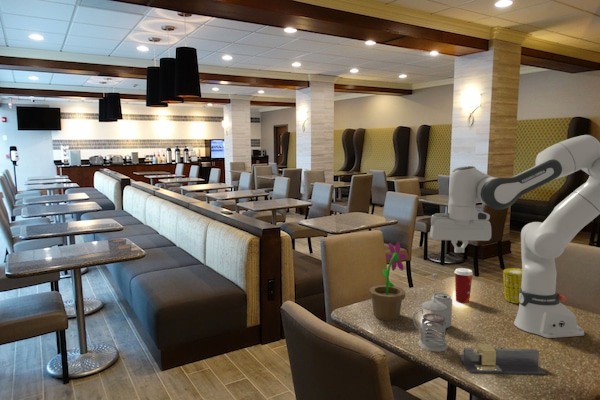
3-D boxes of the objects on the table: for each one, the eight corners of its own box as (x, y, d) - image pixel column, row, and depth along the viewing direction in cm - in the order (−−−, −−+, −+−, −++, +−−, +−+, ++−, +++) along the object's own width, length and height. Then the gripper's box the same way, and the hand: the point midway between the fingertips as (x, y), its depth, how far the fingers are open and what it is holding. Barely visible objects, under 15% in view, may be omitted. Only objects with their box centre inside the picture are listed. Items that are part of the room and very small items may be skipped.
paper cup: (474, 304, 179) (476, 272, 177) (456, 304, 179) (458, 272, 177) (467, 297, 187) (469, 267, 185) (450, 297, 187) (451, 267, 185)
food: (528, 309, 177) (502, 306, 181) (528, 295, 187) (503, 292, 191) (529, 277, 172) (502, 275, 177) (528, 264, 182) (503, 263, 187)
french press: (450, 352, 136) (453, 278, 133) (414, 349, 138) (416, 276, 135) (445, 339, 145) (448, 270, 143) (411, 336, 147) (413, 268, 145)
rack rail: (528, 357, 132) (529, 342, 132) (545, 374, 122) (546, 358, 122) (458, 356, 133) (459, 341, 133) (469, 372, 123) (470, 356, 123)
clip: (489, 357, 130) (490, 344, 130) (495, 365, 126) (496, 351, 125) (476, 357, 130) (477, 344, 130) (482, 365, 126) (482, 351, 125)
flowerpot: (412, 318, 164) (414, 244, 160) (383, 325, 157) (384, 247, 154) (389, 306, 177) (391, 237, 173) (361, 312, 170) (362, 240, 167)
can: (452, 330, 153) (453, 299, 151) (431, 328, 154) (432, 297, 153) (449, 322, 160) (450, 292, 159) (429, 320, 161) (430, 291, 160)
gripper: (433, 214, 140) (431, 254, 142) (494, 215, 140) (492, 255, 141) (428, 211, 146) (426, 249, 148) (486, 212, 146) (484, 250, 147)
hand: (459, 252), depth 145 cm, fingers closed
